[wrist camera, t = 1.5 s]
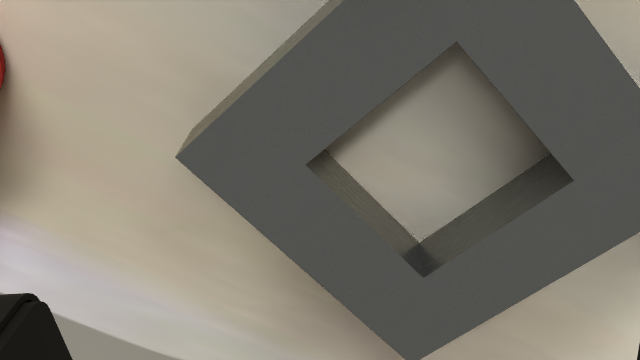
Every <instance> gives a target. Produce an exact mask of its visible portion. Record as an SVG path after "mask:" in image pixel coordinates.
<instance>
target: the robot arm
mask: <svg viewBox="0 0 640 360" xmlns="http://www.w3.org/2000/svg"><path fill="white" fill-rule="evenodd" d="M0 360H72V358H71V356H70V353H69V351H68V349H67V346H66V344H65V342H64V340H63V337H62V335H61V333H60V331H59V329H58V326H57V324H56V322H55V320H54V317H53V315H52V313H51V311H50V308H49V307H48V305H47V304H46V303H45V302H41V301H40V300H39V299H38V297H37V296H35V295H34V294H30V293H23V294H6V295H0ZM637 360H640V344H639V350H638V357H637Z"/></svg>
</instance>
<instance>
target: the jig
mask: <svg viewBox="0 0 640 360" xmlns="http://www.w3.org/2000/svg"><path fill="white" fill-rule="evenodd" d="M455 42H457V43H458V44H459V45H460V46H461V47H462V49H463V50H464V51H465V52H466V53H467V54H468V56H469V57H470V58H471V59H472V60H473V62H474V63H475V64H476V65H477V66H478V67H479V69H480V70H481V71H482V72H483V73H484V75H485V76H486V77H487V78H488V79H489V80H490V82H491V83H492V84H493V85H494V86H495V88H496V89H497V90H498V91H499V92H500V93H501V95H502V96H503V97H504V98H505V99H506V101H507V102H508V103H509V104H510V105H511V106H512V108H513V109H514V110H515V111H516V112H517V114H518V115H519V116H520V117H521V118H522V119H523V121H524V122H525V123H526V124H527V125H528V127H529V128H530V129H531V130H532V131H533V132H534V134H535V135H536V136H537V137H538V138H539V140H540V141H541V142H542V143H543V144H544V145H545V147H546V148H547V149H548V150H549V151H550V153H551V155H549V156H548V157H546V158H545V159H543V160H542V161H540V162H539V163H537V164H536V165H535V166H533V167H532V168H530V169H529V170H527V171H526V172H524V173H523V174H521V175H520V176H518V177H517V178H515V179H514V180H512V181H511V182H509V183H508V184H506V185H505V186H503V187H502V188H500V189H499V190H497V191H496V192H495V193H493V194H492V195H490V196H489V197H487V198H486V199H484V200H483V201H481V202H480V203H478V204H477V205H475V206H474V207H472V208H471V209H469V210H468V211H466V212H465V213H463V214H462V215H460V216H459V217H457V218H456V219H455V220H453V221H452V222H450V223H449V224H447V225H446V226H444V227H443V228H441V229H440V230H438V231H437V232H435V233H434V234H432V235H431V236H429V237H428V238H426V239H425V240H423V241H422V242H420V243H419V242H418V241H417V240H416V239H415V238H413V237H412V236H411V235H410V234H409V233H408V232H407V231H406V230H405V229H404V228H403V227H402V226H401V225H400V224H399V223H398V222H397V221H396V220H395V219H394V218H393V217H392V216H391V215H390V214H389V213H388V212H387V211H386V210H385V209H384V208H383V207H382V206H381V205H380V204H379V203H378V202H377V201H376V200H375V199H374V198H373V197H372V196H371V195H370V194H369V193H368V192H367V191H366V190H365V189H364V188H363V187H362V186H361V185H360V184H359V183H357V182H356V181H355V180H354V179H353V178H352V177H351V176H350V175H349V174H348V173H347V172H346V171H345V170H344V169H343V168H342V167H341V166H340V165H339V164H338V163H337V162H336V161H335V160H334V159H333V158H332V157H331V156H330V155H329V154H328V153H327V152H326V151H325V150H324V149H325V148H326V147H328V146H329V145H330V144H331V143H333V142H334V141H335V140H336V139H337V138H339V137H340V136H341V135H342V134H344V133H345V132H346V131H347V130H349V129H350V128H351V127H352V126H353V125H355V124H356V123H357V122H358V121H360V120H361V119H362V118H363V117H364V116H366V115H367V114H368V113H369V112H371V111H372V110H373V109H374V108H376V107H377V106H378V105H379V104H380V103H382V102H383V101H384V100H385V99H387V98H388V97H389V96H390V95H391V94H393V93H394V92H395V91H396V90H398V89H399V88H400V87H401V86H403V85H404V84H405V83H406V82H407V81H409V80H410V79H411V78H412V77H414V76H415V75H416V74H417V73H418V72H420V71H421V70H422V69H423V68H425V67H426V66H427V65H428V64H430V63H431V62H432V61H433V60H434V59H436V58H437V57H438V56H439V55H441V54H442V53H443V52H444V51H445V50H447V49H448V48H449V47H450V46H452V45H453V44H454V43H455ZM175 158H177V159H178V160H179V161H180V162H181V163H182V164H183V165H185V166H186V167H187V168H188V169H189V170H190V171H191V172H192V173H194V174H195V175H196V176H197V177H198V178H199V179H200V180H202V181H203V182H204V183H205V184H206V185H207V186H208V187H210V188H211V189H212V190H213V191H214V192H215V193H216V194H218V195H219V196H220V197H221V198H222V199H223V200H224V201H226V202H227V203H228V204H229V205H230V206H231V207H232V208H234V209H235V210H236V211H237V212H238V213H239V214H240V215H242V216H243V217H244V218H245V219H246V220H247V221H248V222H249V223H251V224H252V225H253V226H254V227H255V228H256V229H257V230H259V231H260V232H261V233H262V234H263V235H264V236H265V237H267V238H268V239H269V240H270V241H271V242H272V243H273V244H275V245H276V246H277V247H278V248H279V249H280V250H281V251H283V252H284V253H285V254H286V255H287V256H288V257H289V258H291V259H292V260H293V261H294V262H295V263H296V264H297V265H298V266H300V267H301V268H302V269H303V270H304V271H305V272H306V273H308V274H309V275H310V276H311V277H312V278H313V279H314V280H316V281H317V282H318V283H319V284H320V285H321V286H322V287H324V288H325V289H326V290H327V291H328V292H329V293H330V294H332V295H333V296H334V297H335V298H336V299H337V300H338V301H340V302H341V303H342V304H343V305H344V306H345V307H346V308H348V309H349V310H350V311H351V312H352V313H353V314H354V315H355V316H357V317H358V318H359V319H360V320H361V321H362V322H363V323H365V324H366V325H367V326H368V327H369V328H370V329H371V330H373V331H374V332H375V333H376V334H377V335H378V336H379V337H381V338H382V339H383V340H384V341H385V342H386V343H387V344H389V345H390V346H391V347H392V348H393V349H394V350H395V351H397V352H398V353H399V354H400V355H401V356H402V357H403V358H405V359H406V360H420V359H421V358H423V357H425V356H427V355H428V354H430V353H432V352H433V351H435V350H437V349H439V348H440V347H442V346H444V345H445V344H447V343H449V342H451V341H452V340H454V339H456V338H458V337H459V336H461V335H463V334H464V333H466V332H468V331H470V330H471V329H473V328H475V327H477V326H478V325H480V324H482V323H483V322H485V321H487V320H489V319H490V318H492V317H494V316H495V315H497V314H499V313H501V312H502V311H504V310H506V309H508V308H509V307H511V306H513V305H514V304H516V303H518V302H520V301H521V300H523V299H525V298H527V297H528V296H530V295H532V294H533V293H535V292H537V291H539V290H540V289H542V288H544V287H545V286H547V285H549V284H551V283H552V282H554V281H556V280H558V279H559V278H561V277H563V276H564V275H566V274H568V273H570V272H571V271H573V270H575V269H577V268H578V267H580V266H582V265H583V264H585V263H587V262H589V261H590V260H592V259H594V258H595V257H597V256H599V255H601V254H602V253H604V252H606V251H608V250H609V249H611V248H613V247H614V246H616V245H618V244H620V243H621V242H623V241H625V240H627V239H628V238H630V237H632V236H633V235H635V234H637V233H639V232H640V89H639V87H638V86H637V85H636V83H635V82H634V81H633V79H632V78H631V76H630V75H629V74H628V72H627V71H626V70H625V68H624V67H623V66H622V64H621V63H620V62H619V60H618V59H617V58H616V56H615V55H614V54H613V52H612V51H611V49H610V48H609V47H608V45H607V44H606V43H605V41H604V40H603V39H602V37H601V36H600V35H599V33H598V32H597V31H596V29H595V28H594V27H593V25H592V24H591V22H590V21H589V20H588V18H587V17H586V16H585V14H584V13H583V12H582V10H581V9H580V8H579V6H578V5H577V4H576V2H575V1H574V0H329V1H328V2H327V3H326V4H325V5H324V6H323V7H322V8H321V9H320V10H319V11H318V12H317V13H316V14H315V15H313V16H312V17H311V18H310V19H309V20H308V21H307V22H306V23H305V24H304V25H303V26H302V27H301V28H300V29H299V30H298V31H296V32H295V33H294V34H293V35H292V36H291V37H290V38H289V39H288V40H287V41H286V42H285V43H284V44H283V45H282V46H281V47H279V48H278V49H277V50H276V51H275V52H274V53H273V54H272V55H271V56H270V57H269V58H268V59H267V60H266V61H265V62H264V63H262V64H261V65H260V66H259V67H258V68H257V69H256V70H255V71H254V72H253V73H252V74H251V75H250V76H249V77H248V78H247V79H246V80H244V81H243V82H242V83H241V84H240V85H239V86H238V87H237V88H236V89H235V90H234V91H233V92H232V93H231V94H230V95H229V96H227V97H226V98H225V99H224V100H223V101H222V102H221V103H220V104H219V105H218V106H217V107H216V108H215V109H214V110H213V111H212V112H210V113H209V114H208V115H207V116H206V117H205V118H204V119H203V120H202V121H201V122H200V123H199V124H198V125H197V126H196V127H195V128H193V129H192V131H191V132H190V134H189V135H188V137H187V139H186V140H185V142H184V144H183V145H182V147H181V148H180V150H179V152H178V153H177V155H176V157H175Z"/></svg>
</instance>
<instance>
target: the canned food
mask: <svg viewBox="0 0 640 360" xmlns="http://www.w3.org/2000/svg"><path fill="white" fill-rule="evenodd" d="M4 76H5V59H4V56H3V52H2V48H1V45H0V89H1V86H2V84H3V82H4Z"/></svg>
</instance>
